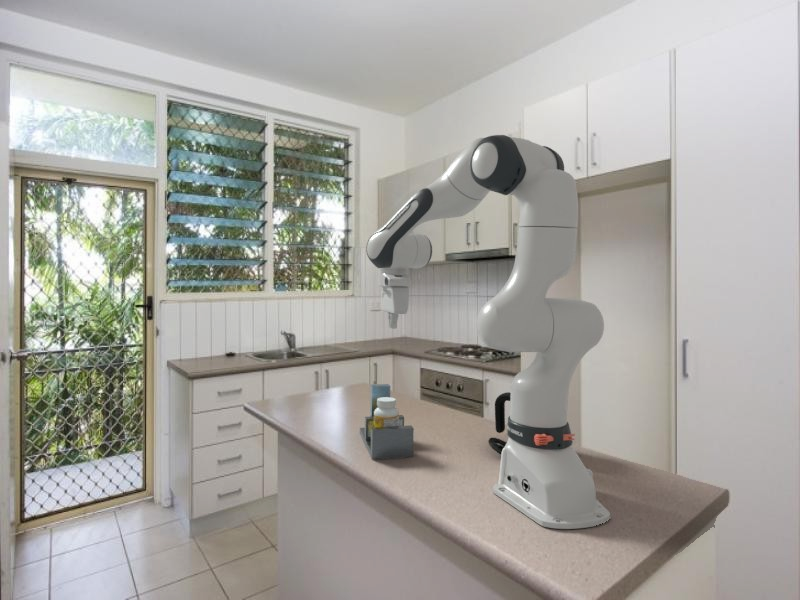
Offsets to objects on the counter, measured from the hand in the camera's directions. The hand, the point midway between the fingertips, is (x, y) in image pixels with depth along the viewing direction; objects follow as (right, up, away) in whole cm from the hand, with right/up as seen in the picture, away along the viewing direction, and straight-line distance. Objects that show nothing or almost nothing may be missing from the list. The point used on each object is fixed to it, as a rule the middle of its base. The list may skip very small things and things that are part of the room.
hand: (392, 328), depth 131 cm
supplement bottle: (-1, -28, -18) cm, 34 cm away
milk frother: (+32, -30, -18) cm, 47 cm away
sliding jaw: (-3, -28, -11) cm, 30 cm away
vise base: (-2, -29, -14) cm, 33 cm away
